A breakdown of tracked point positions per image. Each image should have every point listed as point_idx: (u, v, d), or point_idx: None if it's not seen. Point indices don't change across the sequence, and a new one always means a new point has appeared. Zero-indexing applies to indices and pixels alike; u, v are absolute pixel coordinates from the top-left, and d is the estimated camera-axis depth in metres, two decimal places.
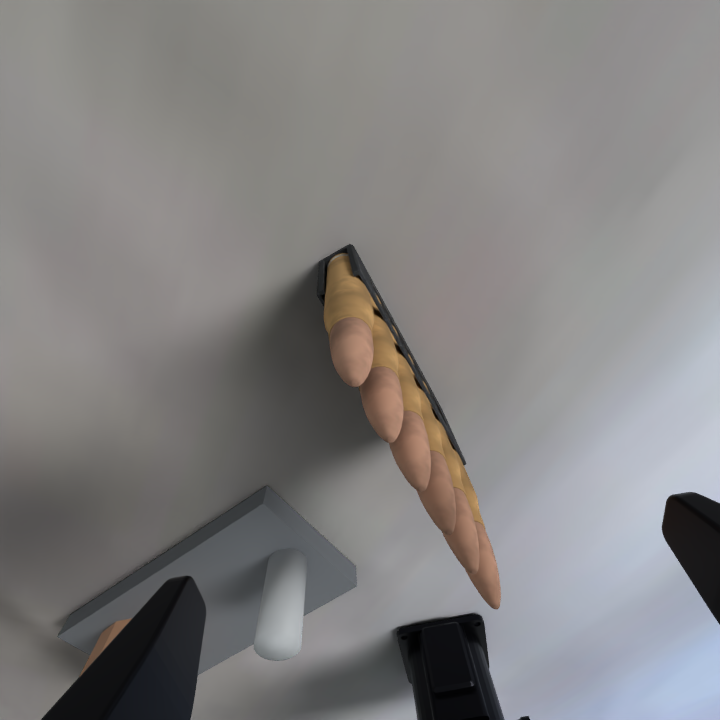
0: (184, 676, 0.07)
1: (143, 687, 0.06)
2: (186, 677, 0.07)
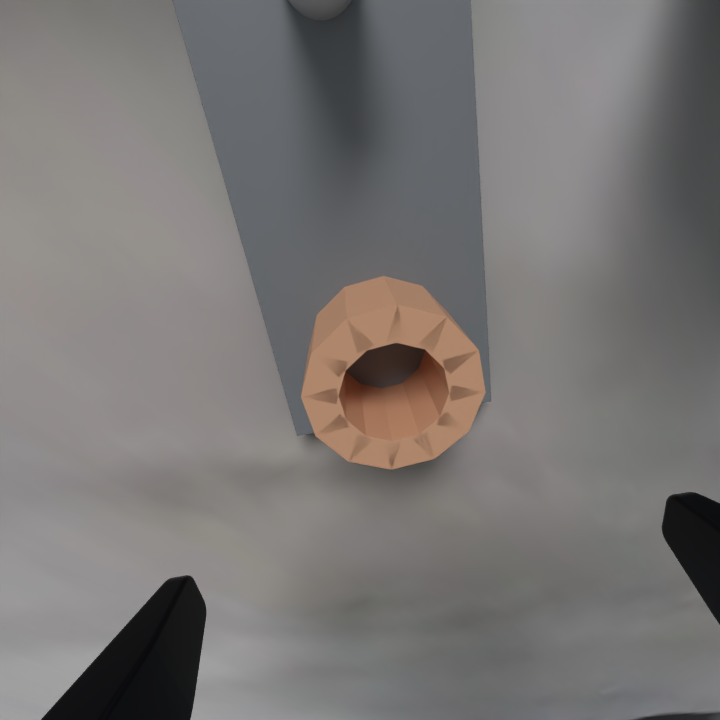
0: (184, 676, 0.07)
1: (143, 687, 0.06)
2: (185, 677, 0.07)
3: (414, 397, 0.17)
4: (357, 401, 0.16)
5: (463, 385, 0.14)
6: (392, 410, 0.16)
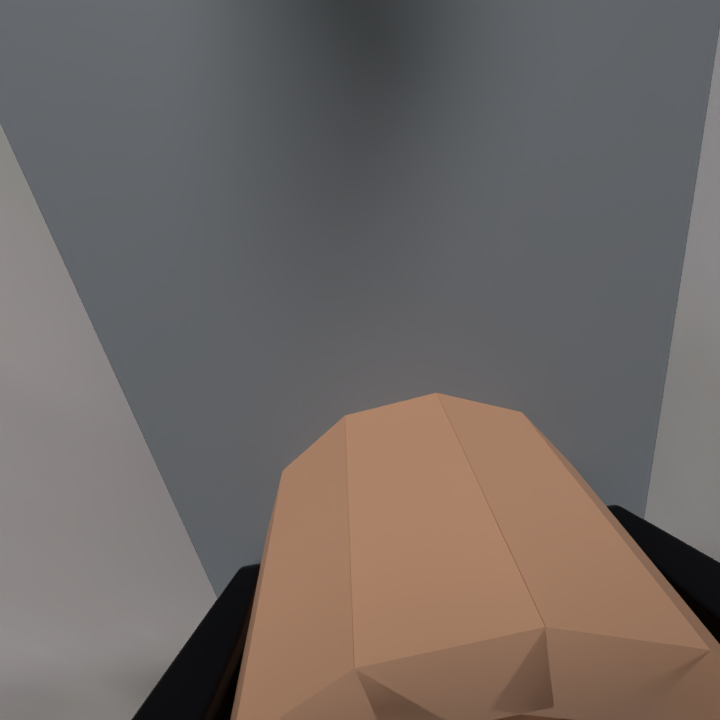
0: None
1: (236, 672, 0.06)
2: None
3: None
4: None
5: None
6: None
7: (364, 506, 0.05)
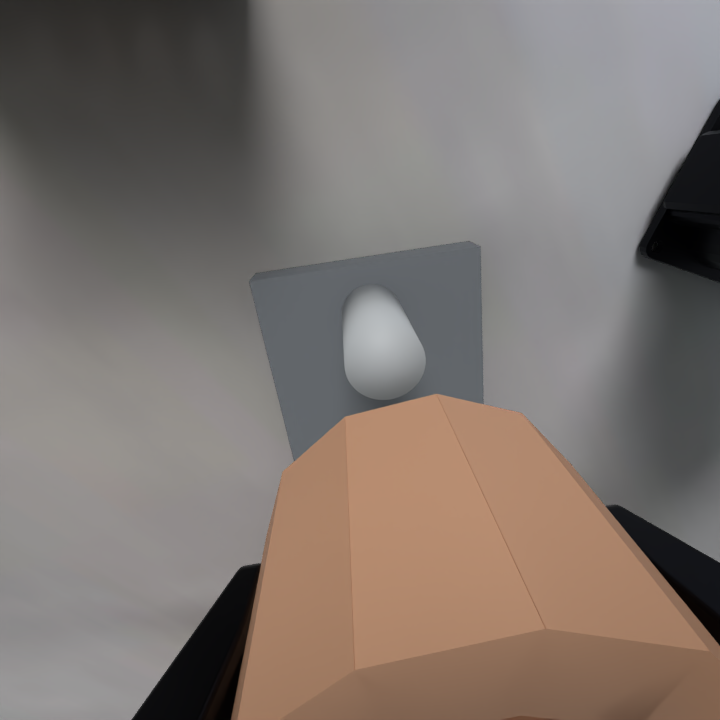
0: None
1: (236, 672, 0.06)
2: None
3: None
4: None
5: None
6: None
7: (364, 507, 0.05)
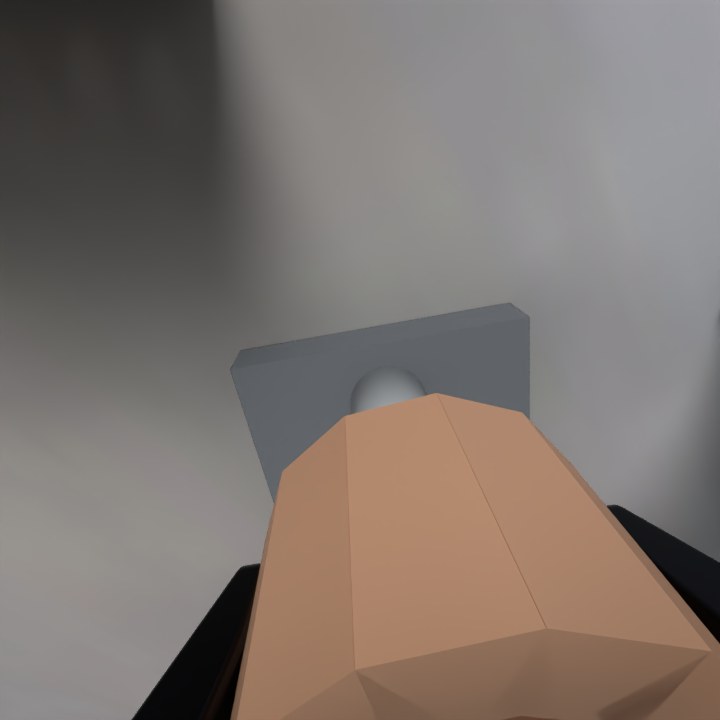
0: None
1: (236, 672, 0.06)
2: None
3: None
4: None
5: None
6: None
7: (364, 506, 0.05)
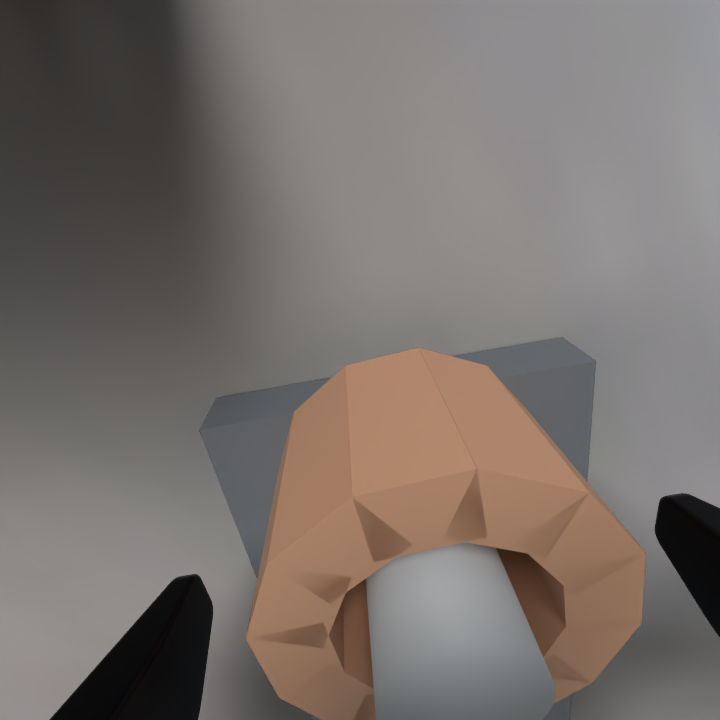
0: (192, 675, 0.07)
1: (153, 686, 0.06)
2: (194, 676, 0.07)
3: None
4: None
5: (598, 613, 0.06)
6: None
7: (360, 417, 0.07)
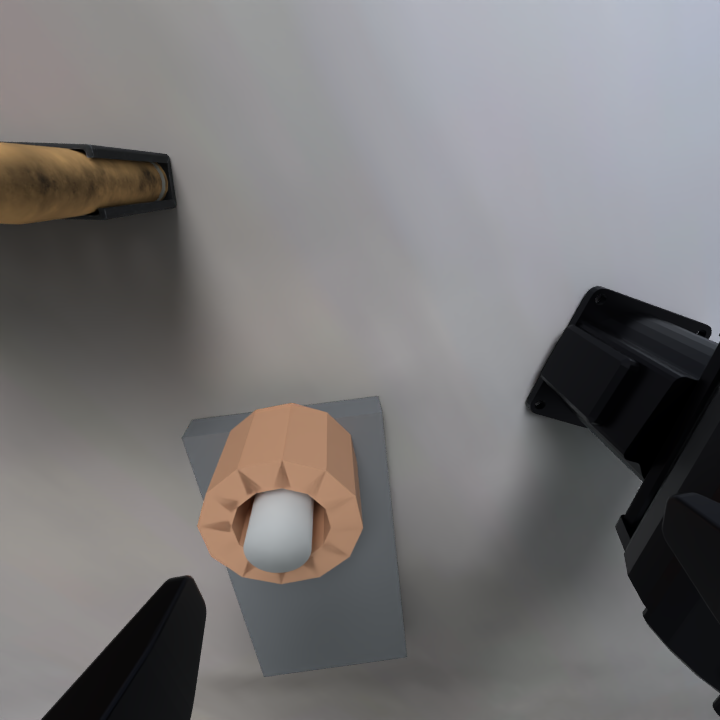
0: (184, 676, 0.07)
1: (143, 687, 0.06)
2: (186, 677, 0.07)
3: (313, 511, 0.18)
4: None
5: (343, 522, 0.16)
6: None
7: (251, 438, 0.16)
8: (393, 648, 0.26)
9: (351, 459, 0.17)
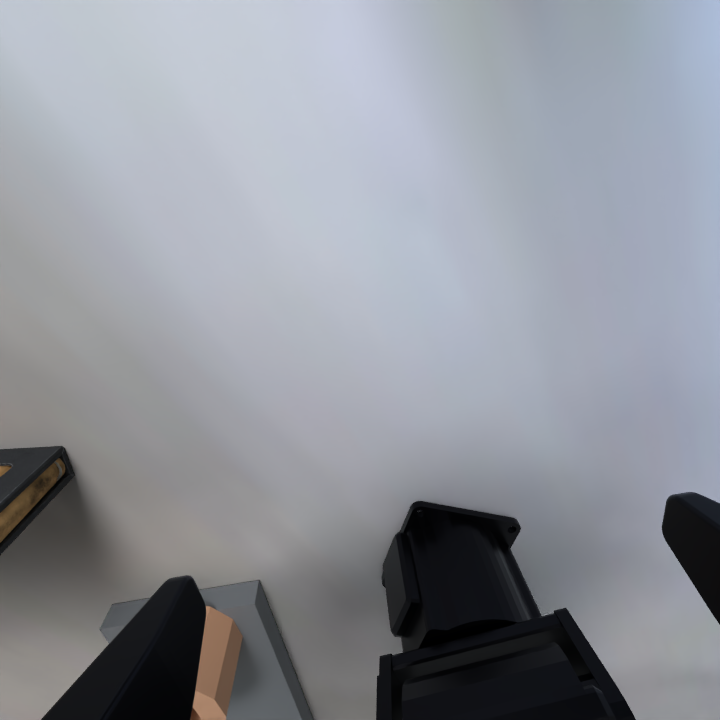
0: (184, 676, 0.07)
1: (143, 687, 0.06)
2: (185, 677, 0.07)
3: None
4: None
5: (209, 714, 0.21)
6: None
7: None
8: None
9: (223, 653, 0.22)
